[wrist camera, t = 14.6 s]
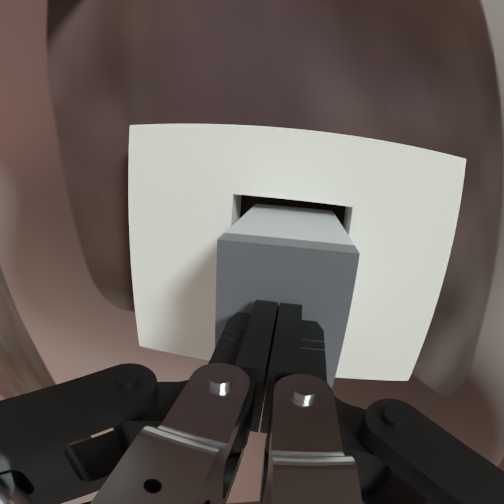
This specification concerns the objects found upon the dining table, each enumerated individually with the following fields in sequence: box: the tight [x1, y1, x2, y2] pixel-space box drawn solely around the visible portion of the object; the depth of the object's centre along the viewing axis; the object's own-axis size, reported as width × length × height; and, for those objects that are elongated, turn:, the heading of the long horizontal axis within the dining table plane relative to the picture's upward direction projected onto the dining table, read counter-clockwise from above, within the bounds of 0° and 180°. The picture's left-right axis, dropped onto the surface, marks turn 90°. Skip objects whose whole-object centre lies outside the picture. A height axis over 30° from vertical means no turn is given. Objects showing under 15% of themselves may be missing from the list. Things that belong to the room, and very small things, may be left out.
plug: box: [215, 203, 360, 389], centre depth 15 cm, size 4×5×9 cm
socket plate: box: [128, 124, 466, 381], centre depth 18 cm, size 18×14×2 cm
